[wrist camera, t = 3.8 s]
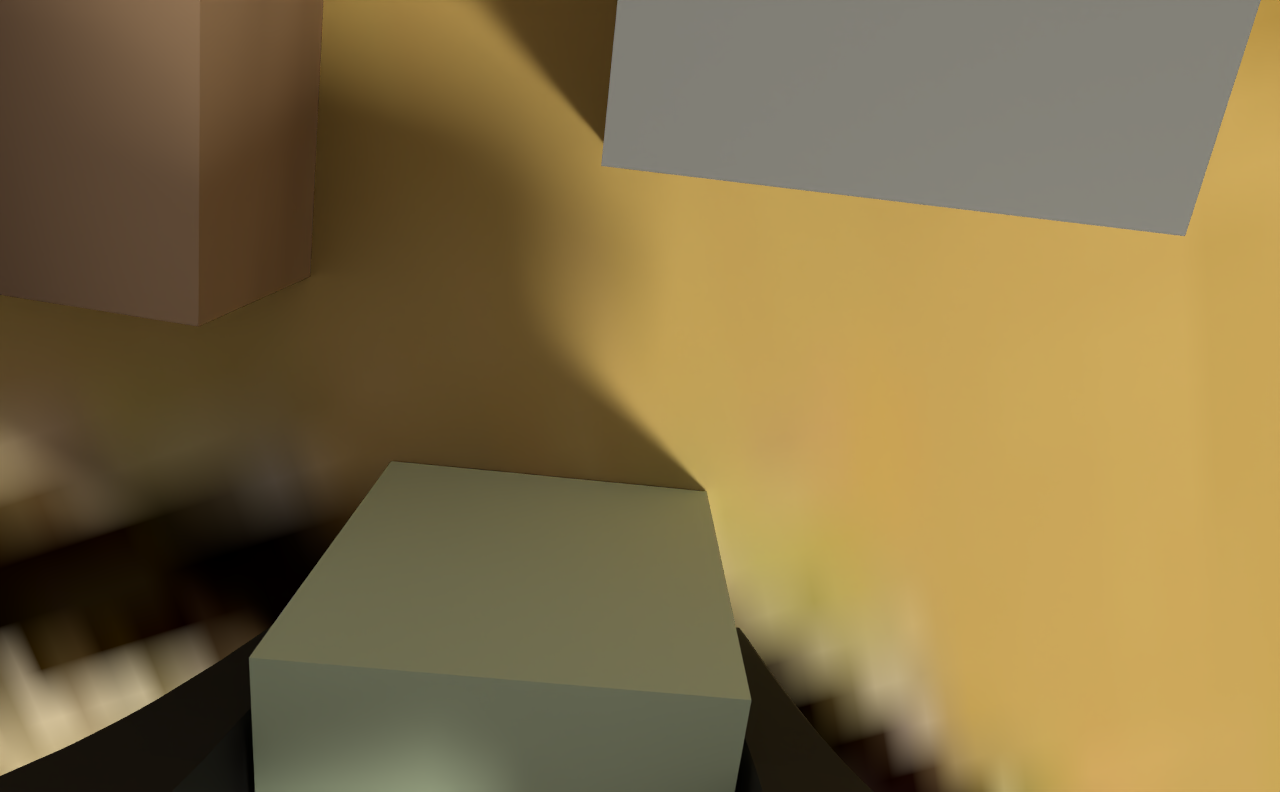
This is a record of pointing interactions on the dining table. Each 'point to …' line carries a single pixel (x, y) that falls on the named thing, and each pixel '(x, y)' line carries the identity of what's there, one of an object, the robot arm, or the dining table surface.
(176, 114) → the walnut block
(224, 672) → the robot arm
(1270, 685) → the dining table surface
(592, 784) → the sage cube
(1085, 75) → the grey cube
